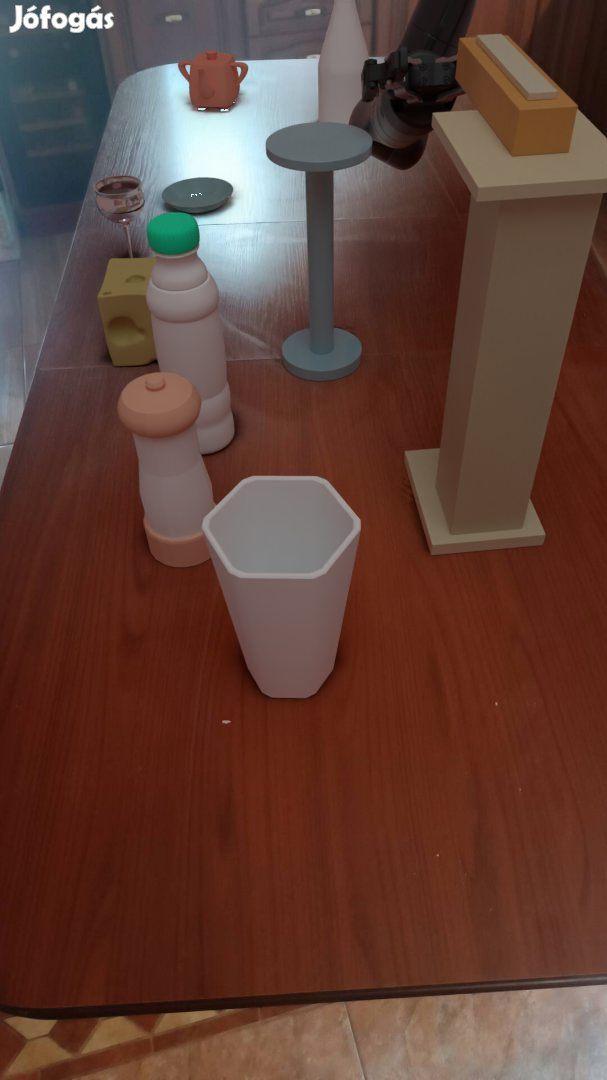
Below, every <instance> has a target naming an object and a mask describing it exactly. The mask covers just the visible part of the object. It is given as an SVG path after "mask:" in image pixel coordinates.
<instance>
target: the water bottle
mask: <svg viewBox="0 0 607 1080" xmlns="http://www.w3.org/2000/svg"><path fill="white" fill-rule="evenodd" d="M200 235H201V233H200V228H199V224H198V221H197V219H196V218H195V217H194V216H193V215H191V214H190V213H187V212H179V211H174V212H165V213H162V214H159V215H156V216H154V217H153V218H151V219H150V220H149V221H148V223H147V225H146V238H147V239H146V240H147V243H148V246H149V249H150V252H151V253H152V254H153V255H154V256H155V257H156V262H155V264H154V266H153V269H152V273H151V278H150V281H149V284H148V287H147V291H146V301H147V305H148V308H149V310H150V312H151V320H152V329H153V336H154V343H155V348H156V354H157V359H158V360H157V363H158V368H159V372H169V373H175V374H178V375H180V376H183V377H185V378H186V379H187V380H188V381H189V382H191V383H192V384H193V385H194V386H195V387H196V389H197V391H198V393H199V395H200V398H201V400H202V403H201V409H200V413H199V416H198V418H197V420H196V421H195V424H196V430H197V436H198V442H199V448H200V453H201V456H202V455H209V454H214V453H217V452H219V451H222V450H223V449H224V448H226V447H227V446H228V445H229V444H230V443H231V442H232V440H233V439H234V436H235V422H234V416H233V412H232V408H231V403H232V400H231V397H232V396H231V390H230V385H229V382H228V380H227V377H228V373H227V372H228V369H227V353H226V345H225V336H224V329H223V321H222V316H221V311H220V308H219V307H220V306H219V301H220V291H219V286H218V284H217V282H216V281H215V279H214V277H213V276H212V274H211V273H210V271H209V270H208V268H207V265H206V264H205V263H204V261H203V260H202V258H200V256H199V255H198V250H199V249H200V241H201V236H200Z"/></svg>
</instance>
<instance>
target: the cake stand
mask: <svg viewBox="0 0 607 1080" xmlns="http://www.w3.org/2000/svg"><path fill="white" fill-rule="evenodd" d="M265 140H266V141H265V155H266V157H267V159H268V160H269V161H270V162H271V163H273V164H275V165H276V166H278V167H282V168H284V169H288V170H292V171H298V172H305V173H304V178H305V179H304V182H305V184H304V185H305V215H306V216H305V218H306V220H305V221H306V222H305V224H306V225H305V226H306V254H307V255H306V257H307V264H306V265H307V292H308V293H307V299H308V304H307V305H308V327H307V328H304V329H300V330H297V331H296V332H293V333H292V334H290V335H289V336H288V337H286V339H285V340H284V341H283V342H282V345H281V362H282V365H283V367H284V368H285V369H286V371H287V372H289V373H290V374H291V375H293V376H295V377H296V378H300V379H302V380H307V381H312V382H328V381H335V380H339V379H342V378H345V377H347V376H349V375H351V374H352V373H354V372H355V371H357V369H358V368H360V365H361V363H362V357H363V354H362V353H363V345H362V343H361V340H359V338H358V337H356V335H354V334H353V333H352V332H350V331H348V330H345V329H342V328H338V327H335V325H334V324H335V322H334V321H335V318H334V317H335V316H334V315H335V311H334V310H335V308H334V307H335V294H334V293H335V290H334V289H335V287H334V286H335V281H334V279H335V275H334V271H335V270H334V269H335V262H334V261H335V258H334V257H335V256H334V255H335V254H334V253H335V250H334V249H335V246H334V245H335V243H334V242H335V240H334V238H335V233H334V232H335V231H334V230H335V228H334V227H335V223H334V222H335V217H334V215H335V214H334V213H335V209H334V207H335V205H334V204H335V202H334V201H335V199H334V198H335V197H334V196H335V195H334V194H335V192H334V190H335V189H334V188H335V187H334V186H335V185H334V184H335V183H334V182H335V177H334V176H335V173H334V172H336V171H341V170H346V169H349V168H352V167H355V166H358V165H360V164H362V163H364V162H365V161H367V160H368V159H370V157H372V156H371V154H372V148H373V140H372V137H371V135H370V134H369V133H368V132H366V131H365V130H363V129H361V128H358V127H355V126H352V125H348V124H342V123H334V122H319V121H311V122H310V121H309V122H302V123H297V124H292V125H287V126H285V127H282V128H280V129H277V130H275V131H273V132H272V133H271V134H270V135H268V136H267V138H266V139H265Z"/></svg>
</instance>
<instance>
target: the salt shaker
mask: <svg viewBox="0 0 607 1080" xmlns="http://www.w3.org/2000/svg"><path fill="white" fill-rule="evenodd" d="M201 403H202V400H201V398H200V395H199V393H198V391H197V389H196V387H195V386H194V385H193V384H192V383H191V382H189V381H188V380H187V379H186V378H185V377H183V376H180V375H178V374H175V373H169V372H160V371H157V372H151V373H146V374H144V375H141V376H138V377H136V378H134V379H133V380H131V381H129V383H127V385H126V386H125V387H124V388H123V390H122V391H121V393H120V395H119V397H118V401H117V409H116V410H117V415H118V419H119V420H120V421H121V423H122V424H123V425H124V427H126V429H127V430H128V431H129V432H130V433H132V437H133V441H134V446H135V449H136V455H137V460H138V483H139V484H138V485H139V486H138V487H139V488H138V489H139V496H140V500H141V504H142V507H143V511H144V514H143V520H142V523H143V527H144V530H145V535H146V540H147V543H148V548H149V552H150V554H151V555H152V556H153V557H154V559H155V560H156V561H158V562H159V563H161V564H163V565H165V566H168V567H173V568H189V567H194V566H198V565H200V564H203V563H204V562H206V561H208V560H210V559H211V556H210V553H209V550H208V547H207V544H206V541H205V538H204V535H203V532H202V529H201V528H202V522H203V518H204V517H205V516H206V515H208V514H209V513H210V512H211V511H212V510H213V509H214V508H215V507H216V506H217V505H218V504H217V503H216V502H215V501H214V495H213V493H214V491H213V485H212V481H211V478H210V476H209V475H210V474H209V473H208V470H207V467H206V465H205V462H204V459H203V456H202V455H201V453H200V448H199V442H198V436H197V430H196V424H195V421H196V420H197V418H198V416H199V413H200V409H201Z"/></svg>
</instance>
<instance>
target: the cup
mask: <svg viewBox="0 0 607 1080" xmlns="http://www.w3.org/2000/svg"><path fill="white" fill-rule="evenodd" d="M216 505H217V506H216V507H215V508H214V509H213V510H212V511H211V512H210V513H209V514H208V515H206V516H205V517H204V518H203V522H202V528H201V529H202V532H203V535H204V538H205V541H206V544H207V547H208V550H209V553H210V556H211V558H210V559H211V561H212V565H213V567H214V571H215V574H216V577H217V580H218V583H219V586H220V589H221V592H222V595H223V598H224V601H225V603H226V607H227V610H228V613H229V616H230V619H231V622H232V625H233V628H234V631H235V634H236V637H237V640H238V643H239V647H240V649H241V652H242V655H243V659H244V662H245V664H246V667H247V670H248V671H249V673H250V674H251V676H252V678H253V680H254V681H255V683H256V685H257V686H258V688H259V690H260V691H261V694H264V695H265V696H268V697H270V698H272V699H273V698H275V699H307V698H309V697H311V696H313V695H315V694H317V693H318V691H319V690H320V689H321V687H322V685H323V684H324V683H325V682H326V680H327V678H328V677H329V676H330V675H331V673H332V672H333V670H334V667H335V661H336V657H337V652H338V647H339V641H340V636H341V631H342V626H343V621H344V617H345V612H346V606H347V601H348V597H349V596H348V595H349V591H350V585H351V581H352V576H353V571H354V566H355V561H356V557H357V556H356V555H357V551H358V547H359V540H360V535H361V530H362V523H361V522H362V520H361V519H360V517H359V516H358V515H357V514H356V513H355V511H354V510H353V508H351V506H349V504H348V503H347V501H345V499H344V498H343V497H342V495H340V493H339V492H338V491H337V490H336V489H335V487H334V486H333V485H332V483H331V482H330V481H329V480H328V479H325V478H323V477H320V476H317V475H252V476H249V477H246V478H244V479H242V480H240V481H239V483H237V484H236V486H235V487H234V488H232V489H231V490H230V491H229V493H227V494H226V496H224V497H223V498H222V499H221V500H220V501H219V502H218V503H217V504H216Z"/></svg>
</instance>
